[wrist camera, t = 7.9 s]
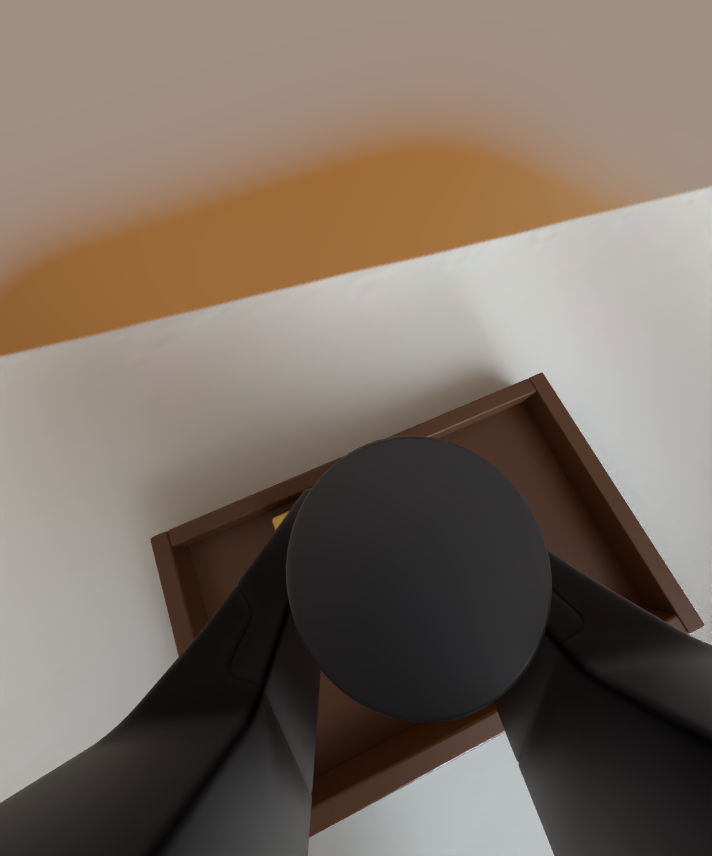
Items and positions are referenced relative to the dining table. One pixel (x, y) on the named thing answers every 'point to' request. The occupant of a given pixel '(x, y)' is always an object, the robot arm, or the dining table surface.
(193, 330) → the dining table surface
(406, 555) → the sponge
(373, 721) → the tray
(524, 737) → the robot arm
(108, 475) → the dining table surface
